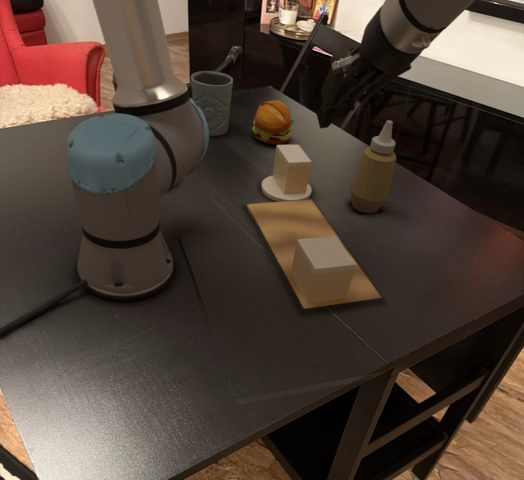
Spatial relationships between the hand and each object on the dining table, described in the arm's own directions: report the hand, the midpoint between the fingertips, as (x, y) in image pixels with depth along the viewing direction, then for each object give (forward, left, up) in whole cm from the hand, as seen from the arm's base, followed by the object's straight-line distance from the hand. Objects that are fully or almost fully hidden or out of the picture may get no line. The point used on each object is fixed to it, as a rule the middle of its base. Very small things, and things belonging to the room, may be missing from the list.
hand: (322, 120), depth 82 cm
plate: (+7, +11, -20) cm, 24 cm away
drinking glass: (+15, +44, -20) cm, 50 cm away
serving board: (-7, -7, -20) cm, 22 cm away
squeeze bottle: (+16, -4, -20) cm, 26 cm away
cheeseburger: (+24, +31, -20) cm, 44 cm away
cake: (-15, -15, -19) cm, 29 cm away
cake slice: (+8, +11, -19) cm, 23 cm away
